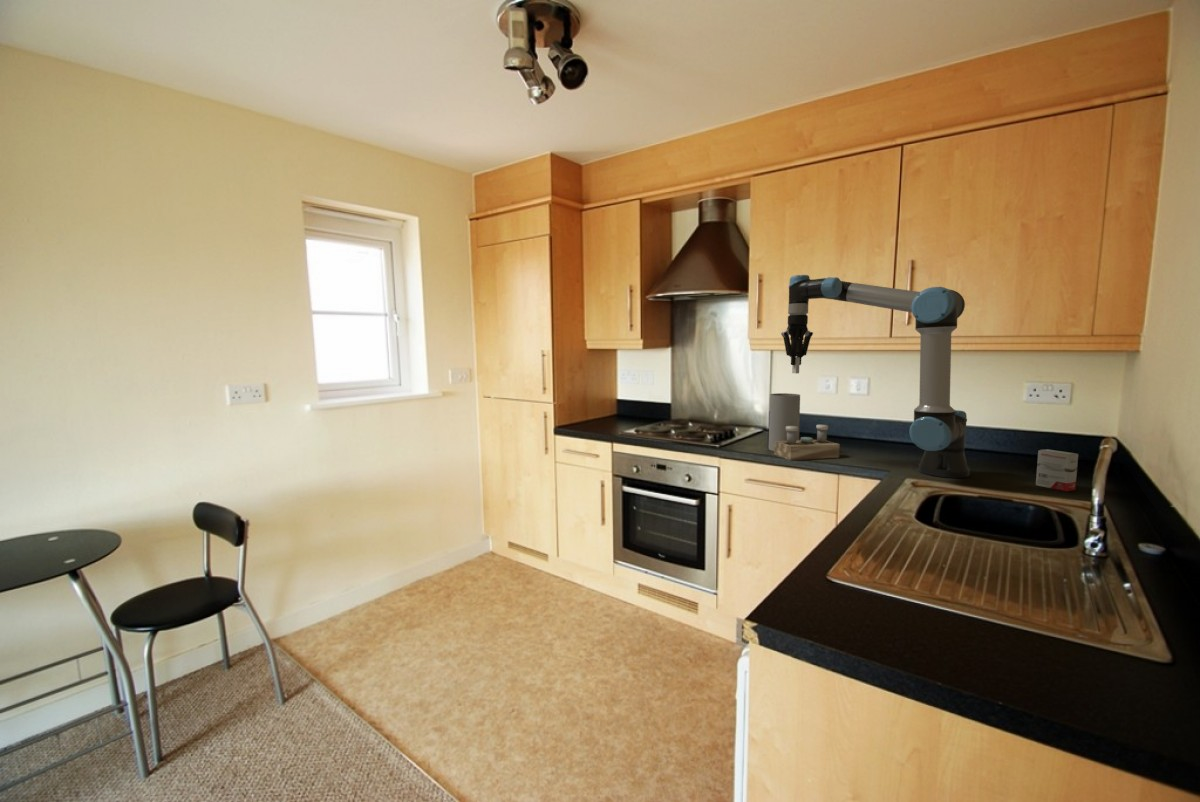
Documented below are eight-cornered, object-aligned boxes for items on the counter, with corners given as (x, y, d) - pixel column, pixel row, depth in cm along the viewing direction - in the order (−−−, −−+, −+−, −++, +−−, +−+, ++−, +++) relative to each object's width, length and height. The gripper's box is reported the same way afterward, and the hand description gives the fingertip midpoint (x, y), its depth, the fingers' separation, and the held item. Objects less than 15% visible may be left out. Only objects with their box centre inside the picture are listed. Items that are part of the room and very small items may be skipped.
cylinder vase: (763, 448, 230) (764, 393, 227) (789, 447, 231) (790, 393, 229) (777, 454, 217) (778, 396, 215) (804, 452, 219) (806, 395, 217)
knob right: (830, 443, 210) (830, 426, 209) (820, 444, 209) (820, 426, 208) (823, 441, 215) (823, 424, 214) (813, 442, 214) (813, 424, 213)
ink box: (1076, 490, 159) (1079, 453, 158) (1067, 492, 157) (1070, 454, 156) (1043, 483, 167) (1046, 448, 165) (1034, 485, 165) (1037, 449, 164)
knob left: (799, 445, 207) (800, 427, 207) (789, 446, 206) (789, 427, 206) (793, 443, 212) (793, 425, 211) (783, 444, 211) (783, 426, 210)
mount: (839, 458, 207) (839, 444, 207) (790, 461, 203) (790, 446, 203) (820, 452, 219) (821, 439, 218) (774, 455, 215) (774, 441, 214)
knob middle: (814, 456, 209) (815, 438, 208) (804, 457, 208) (805, 439, 208) (807, 454, 214) (808, 436, 213) (798, 454, 213) (798, 437, 212)
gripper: (807, 315, 209) (804, 372, 211) (778, 315, 206) (776, 373, 209) (818, 314, 201) (815, 373, 204) (788, 314, 199) (785, 374, 202)
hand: (795, 373), depth 206 cm, fingers closed
